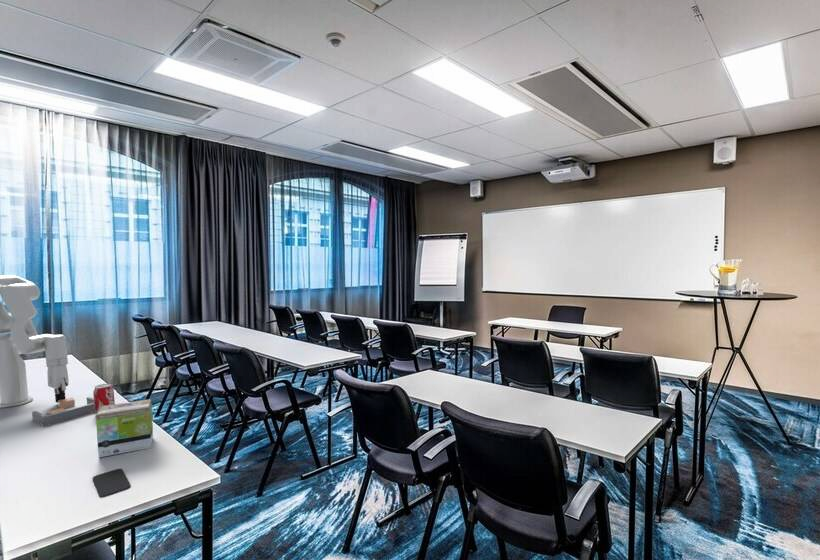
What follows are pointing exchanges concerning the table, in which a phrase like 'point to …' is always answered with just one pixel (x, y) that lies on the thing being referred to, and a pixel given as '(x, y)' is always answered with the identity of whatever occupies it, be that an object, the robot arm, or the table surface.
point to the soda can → (103, 396)
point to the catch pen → (64, 413)
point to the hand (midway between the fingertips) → (60, 401)
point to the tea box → (124, 427)
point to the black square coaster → (111, 482)
